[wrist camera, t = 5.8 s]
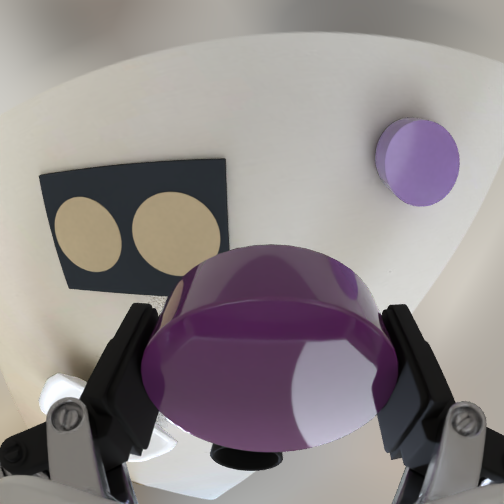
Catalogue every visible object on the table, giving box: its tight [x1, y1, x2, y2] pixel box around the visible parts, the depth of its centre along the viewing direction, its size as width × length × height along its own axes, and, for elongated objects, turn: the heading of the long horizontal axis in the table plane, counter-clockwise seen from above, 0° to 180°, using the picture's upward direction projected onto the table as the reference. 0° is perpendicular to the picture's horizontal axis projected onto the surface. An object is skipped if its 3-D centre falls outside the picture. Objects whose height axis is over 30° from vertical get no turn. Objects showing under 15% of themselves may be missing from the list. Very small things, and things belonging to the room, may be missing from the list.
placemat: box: [39, 159, 229, 296], centre depth 28 cm, size 14×20×1 cm
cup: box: [210, 443, 283, 471], centre depth 32 cm, size 8×8×12 cm
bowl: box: [39, 373, 178, 462], centre depth 42 cm, size 22×23×6 cm
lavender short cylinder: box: [375, 117, 460, 206], centre depth 22 cm, size 7×7×3 cm
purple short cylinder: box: [141, 244, 399, 452], centre depth 9 cm, size 7×7×3 cm
